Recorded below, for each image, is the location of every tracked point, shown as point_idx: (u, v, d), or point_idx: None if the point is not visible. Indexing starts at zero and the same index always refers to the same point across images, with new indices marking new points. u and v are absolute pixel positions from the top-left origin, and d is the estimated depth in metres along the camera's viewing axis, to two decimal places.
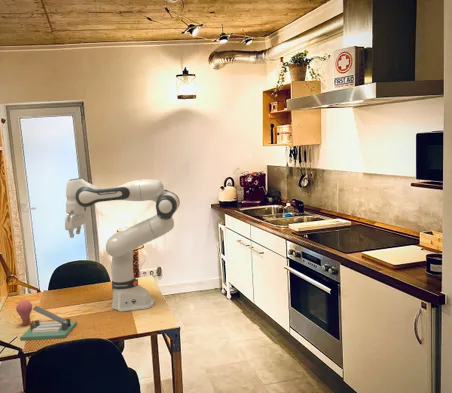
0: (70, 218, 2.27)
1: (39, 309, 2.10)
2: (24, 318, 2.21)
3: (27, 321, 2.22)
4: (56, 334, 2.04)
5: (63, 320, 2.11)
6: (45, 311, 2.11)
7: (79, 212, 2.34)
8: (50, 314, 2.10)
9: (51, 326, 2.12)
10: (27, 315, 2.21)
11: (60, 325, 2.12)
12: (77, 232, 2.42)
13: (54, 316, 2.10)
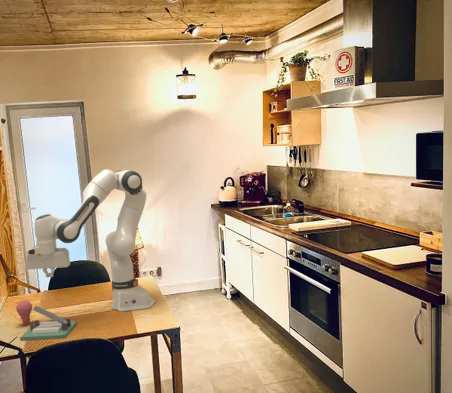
0: None
1: (39, 309, 2.10)
2: (24, 318, 2.21)
3: (27, 321, 2.22)
4: (56, 334, 2.04)
5: (63, 320, 2.11)
6: (45, 311, 2.11)
7: None
8: (50, 314, 2.10)
9: (51, 326, 2.12)
10: (27, 315, 2.21)
11: (60, 325, 2.12)
12: None
13: (54, 316, 2.10)
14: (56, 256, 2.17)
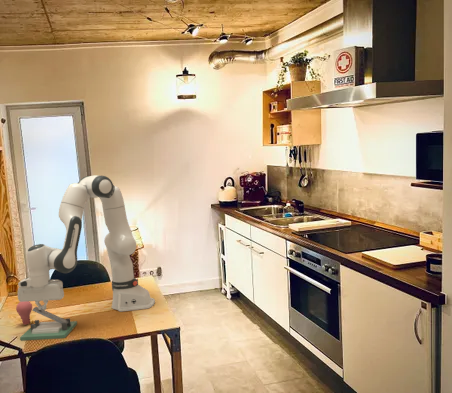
0: None
1: (39, 310, 2.10)
2: (24, 318, 2.21)
3: (27, 321, 2.22)
4: (56, 334, 2.04)
5: (63, 320, 2.11)
6: (45, 312, 2.11)
7: None
8: (50, 314, 2.10)
9: (51, 326, 2.12)
10: (27, 315, 2.21)
11: (60, 325, 2.12)
12: None
13: (54, 316, 2.10)
14: (49, 288, 2.07)
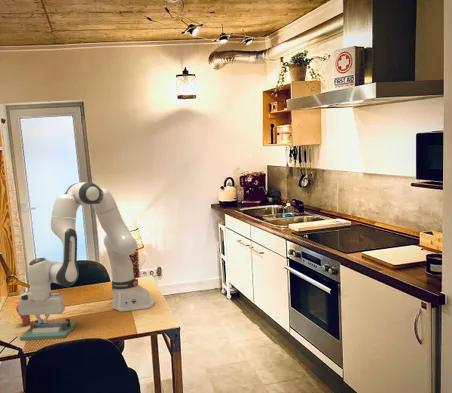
0: None
1: (36, 323, 2.11)
2: (24, 318, 2.21)
3: (27, 321, 2.22)
4: (56, 334, 2.04)
5: (62, 321, 2.11)
6: None
7: None
8: (48, 322, 2.11)
9: (51, 326, 2.12)
10: (27, 315, 2.21)
11: (60, 325, 2.12)
12: (42, 321, 2.11)
13: (52, 322, 2.11)
14: (50, 302, 2.08)
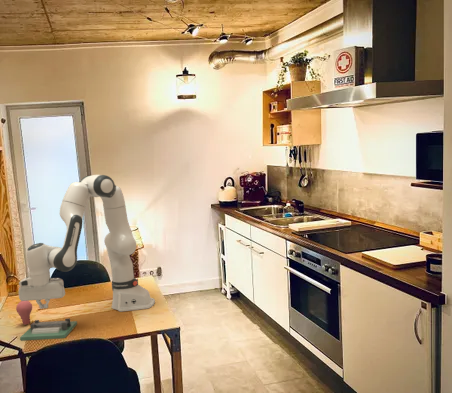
0: None
1: (36, 323, 2.11)
2: (24, 318, 2.21)
3: (27, 321, 2.22)
4: (56, 334, 2.04)
5: None
6: (43, 322, 2.11)
7: None
8: (48, 322, 2.11)
9: (51, 326, 2.12)
10: (27, 315, 2.21)
11: (60, 325, 2.12)
12: (43, 306, 2.10)
13: (52, 322, 2.11)
14: (50, 287, 2.07)
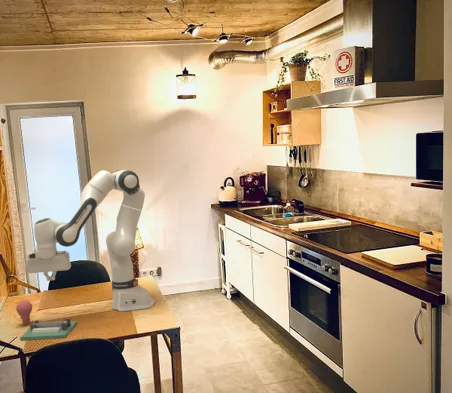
0: None
1: (36, 323, 2.11)
2: (24, 318, 2.21)
3: (27, 321, 2.22)
4: (56, 334, 2.04)
5: None
6: (43, 322, 2.11)
7: None
8: (48, 322, 2.11)
9: (51, 326, 2.12)
10: (27, 315, 2.21)
11: (60, 325, 2.12)
12: (50, 278, 2.22)
13: (52, 322, 2.11)
14: (56, 259, 2.19)
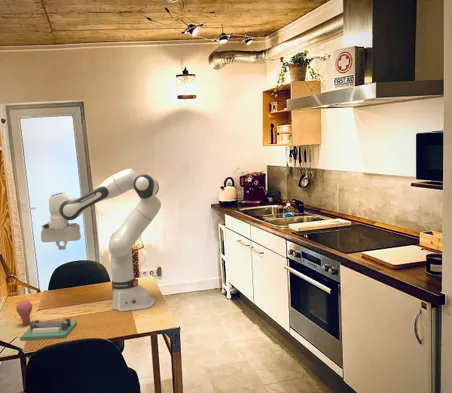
0: None
1: (36, 323, 2.11)
2: (24, 318, 2.21)
3: (27, 321, 2.22)
4: (56, 334, 2.04)
5: None
6: (43, 322, 2.11)
7: None
8: (48, 322, 2.11)
9: (51, 326, 2.12)
10: (27, 315, 2.21)
11: (60, 325, 2.12)
12: (61, 247, 2.43)
13: (52, 322, 2.11)
14: (68, 230, 2.40)
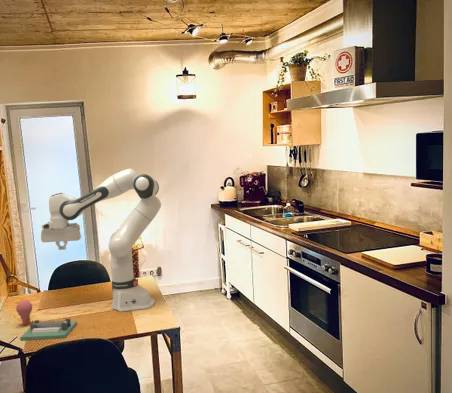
0: None
1: (36, 323, 2.11)
2: (24, 318, 2.21)
3: (27, 321, 2.22)
4: (56, 334, 2.04)
5: None
6: (43, 322, 2.11)
7: None
8: (48, 322, 2.11)
9: (51, 326, 2.12)
10: (27, 315, 2.21)
11: (60, 325, 2.12)
12: (61, 247, 2.43)
13: (52, 322, 2.11)
14: (68, 230, 2.40)
